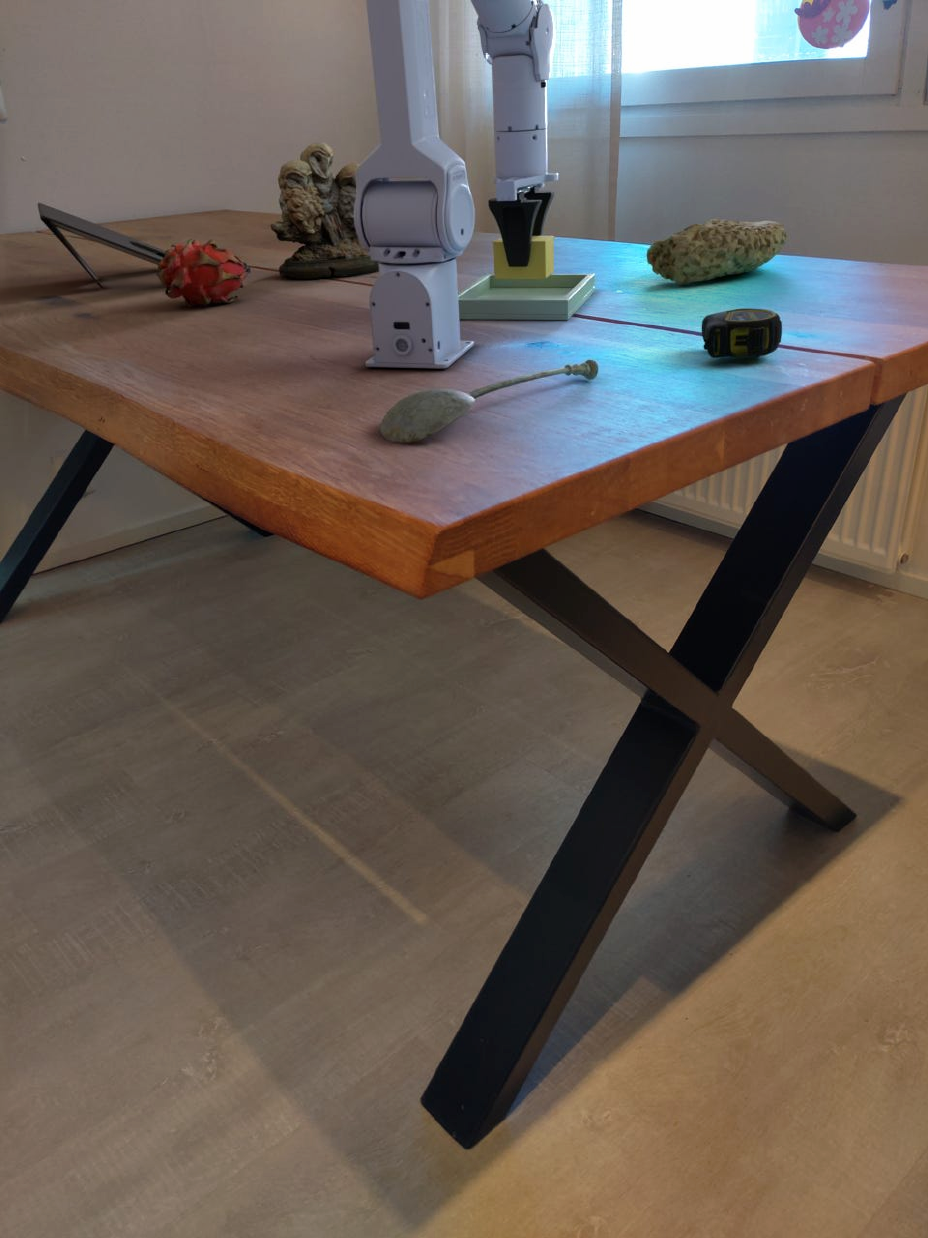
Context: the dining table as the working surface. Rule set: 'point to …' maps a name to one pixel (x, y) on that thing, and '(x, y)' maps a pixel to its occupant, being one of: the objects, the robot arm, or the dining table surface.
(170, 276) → the dragon fruit
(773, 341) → the tape measure
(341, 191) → the owl figurine
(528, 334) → the dining table surface
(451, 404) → the soupspoon
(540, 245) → the yellow block
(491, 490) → the dining table surface
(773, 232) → the sponge
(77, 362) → the dining table surface
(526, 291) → the tray
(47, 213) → the laptop tray
